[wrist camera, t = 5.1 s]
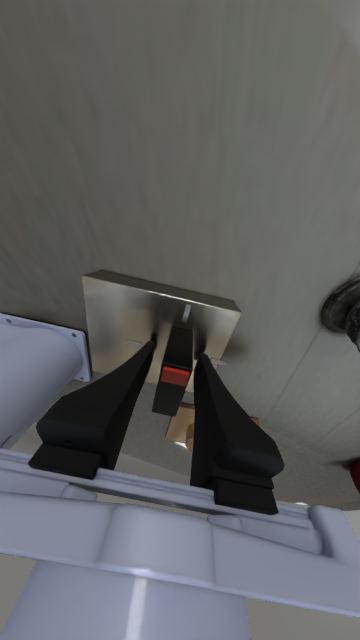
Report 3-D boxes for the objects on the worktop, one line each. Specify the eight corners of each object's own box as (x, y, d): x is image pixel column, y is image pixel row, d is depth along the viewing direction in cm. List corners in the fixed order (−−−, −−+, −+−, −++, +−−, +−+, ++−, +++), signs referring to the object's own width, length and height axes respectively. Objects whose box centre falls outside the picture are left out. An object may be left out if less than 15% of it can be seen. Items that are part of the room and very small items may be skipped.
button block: (165, 434, 25) (162, 453, 23) (176, 401, 20) (174, 420, 18) (231, 448, 25) (235, 467, 23) (257, 418, 20) (265, 439, 18)
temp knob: (180, 373, 14) (175, 420, 10) (162, 369, 14) (150, 415, 10) (193, 331, 11) (193, 373, 8) (171, 326, 11) (161, 366, 8)
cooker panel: (105, 354, 17) (91, 372, 15) (100, 269, 12) (79, 275, 10) (207, 377, 17) (209, 397, 15) (240, 302, 13) (251, 315, 10)
